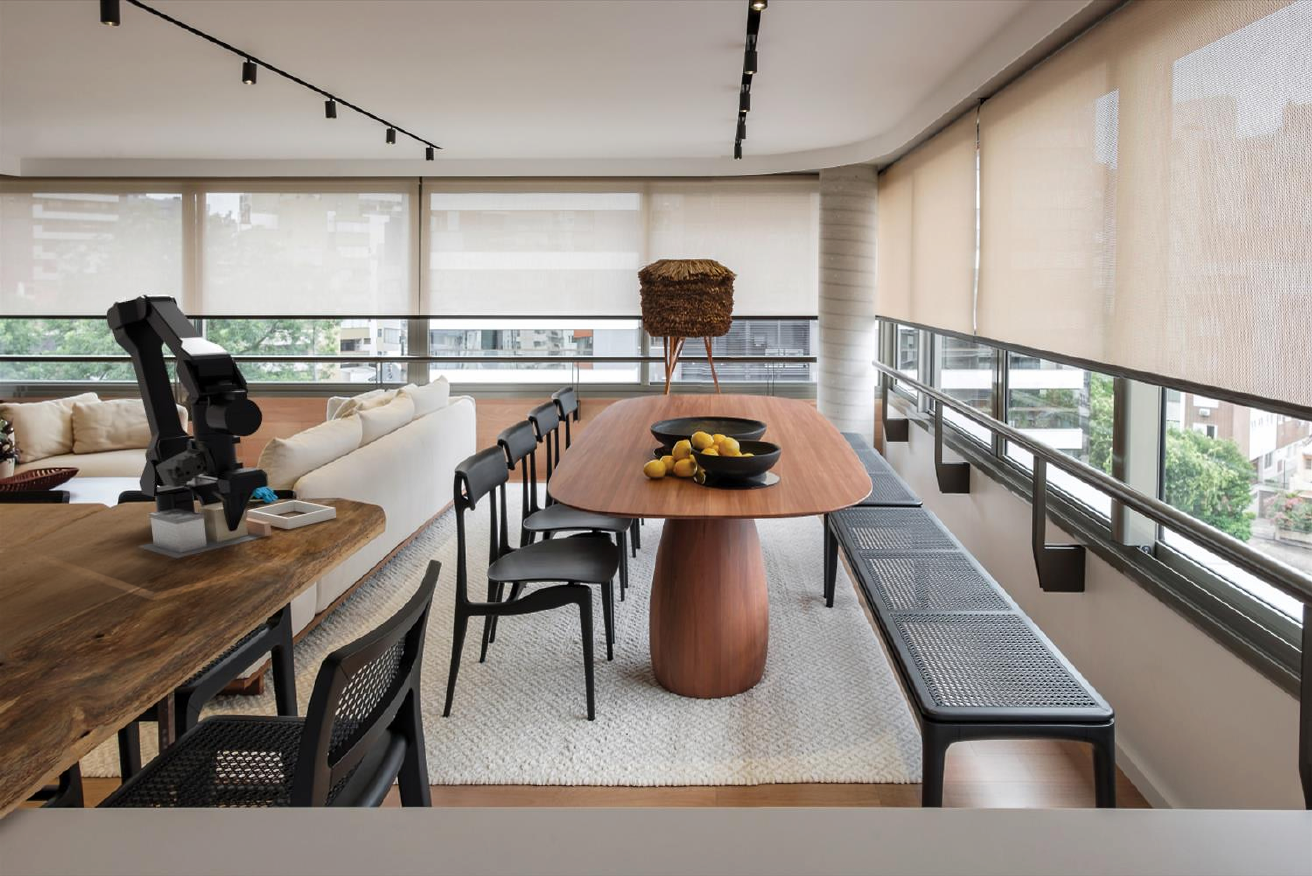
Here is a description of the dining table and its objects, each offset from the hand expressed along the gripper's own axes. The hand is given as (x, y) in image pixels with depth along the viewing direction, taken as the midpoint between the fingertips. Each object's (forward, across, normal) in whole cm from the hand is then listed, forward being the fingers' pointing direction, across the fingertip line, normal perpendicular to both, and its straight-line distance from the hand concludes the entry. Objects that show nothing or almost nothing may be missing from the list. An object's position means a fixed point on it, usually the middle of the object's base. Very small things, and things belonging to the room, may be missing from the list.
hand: (223, 528), depth 142 cm
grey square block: (+2, 0, -7) cm, 7 cm away
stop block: (+1, 0, 0) cm, 1 cm away
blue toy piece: (+2, -21, +18) cm, 28 cm away
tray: (+2, -1, +12) cm, 13 cm away
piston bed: (+2, 0, -3) cm, 4 cm away
